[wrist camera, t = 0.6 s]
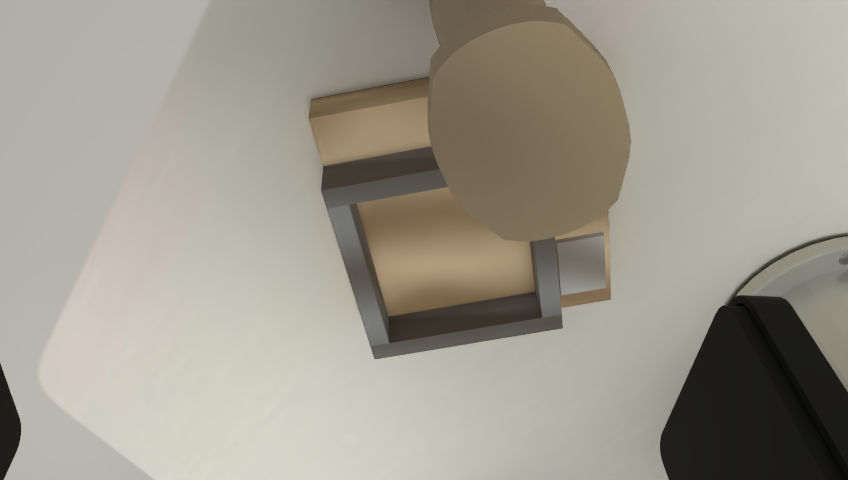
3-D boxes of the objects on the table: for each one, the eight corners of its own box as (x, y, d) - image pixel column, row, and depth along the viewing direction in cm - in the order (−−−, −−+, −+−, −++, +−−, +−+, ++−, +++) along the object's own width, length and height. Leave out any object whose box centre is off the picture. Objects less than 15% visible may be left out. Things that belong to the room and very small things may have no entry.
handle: (441, 46, 33) (482, 262, 21) (383, -97, 29) (393, 69, 18) (546, 3, 32) (649, 205, 20) (499, -149, 29) (593, -11, 17)
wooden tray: (602, 277, 42) (620, 325, 39) (375, 316, 43) (376, 365, 40) (594, 46, 34) (616, 84, 31) (311, 99, 34) (305, 141, 31)
